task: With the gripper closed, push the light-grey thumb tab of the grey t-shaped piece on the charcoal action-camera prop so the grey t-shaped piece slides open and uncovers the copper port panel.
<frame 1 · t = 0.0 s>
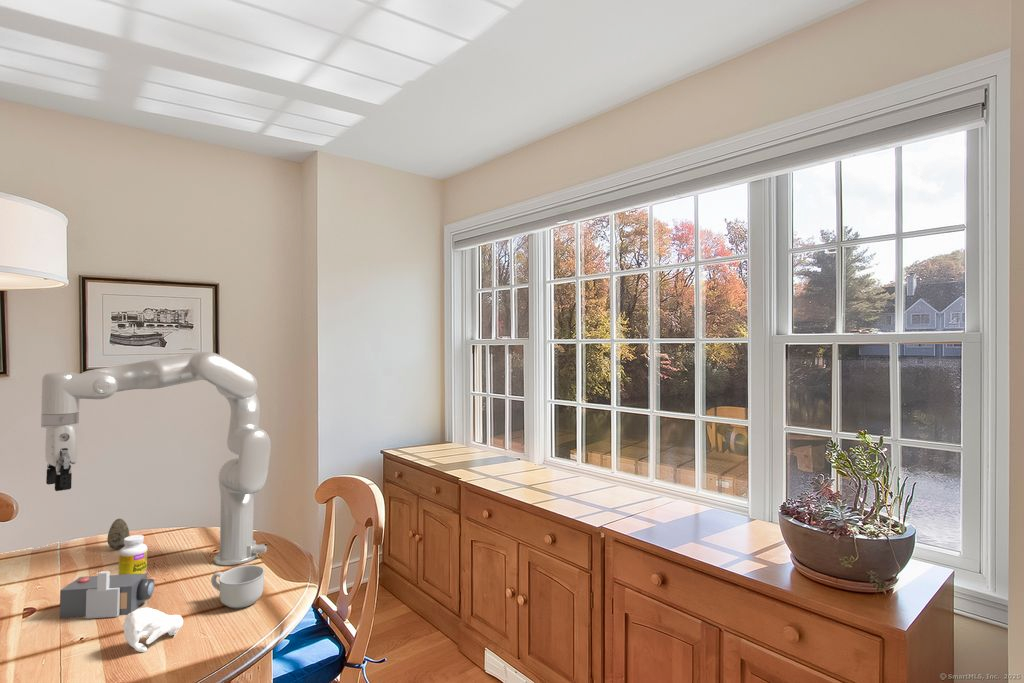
hand: (58, 486, 140), 31 cm above the table, tool pointing down, fingers open, 9 cm apart
white figurine: (154, 643, 124), on the table
grey t-shaped piece: (103, 594, 135), point 6 cm above the table, slide at 0.0 cm
teacup: (236, 603, 144), on the table
camera body: (104, 608, 139), on the table
supplement bottle: (132, 583, 155), on the table
decorative egg: (118, 549, 180), on the table
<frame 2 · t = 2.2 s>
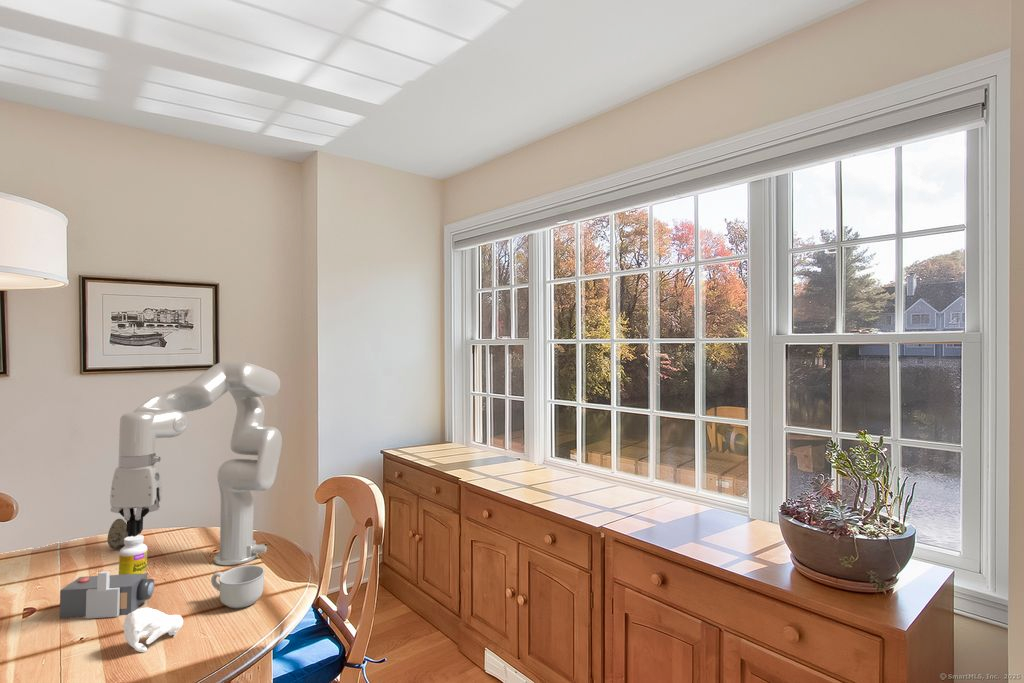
hand: (134, 534, 136), 20 cm above the table, tool pointing down, fingers closed
nothing on the table moved.
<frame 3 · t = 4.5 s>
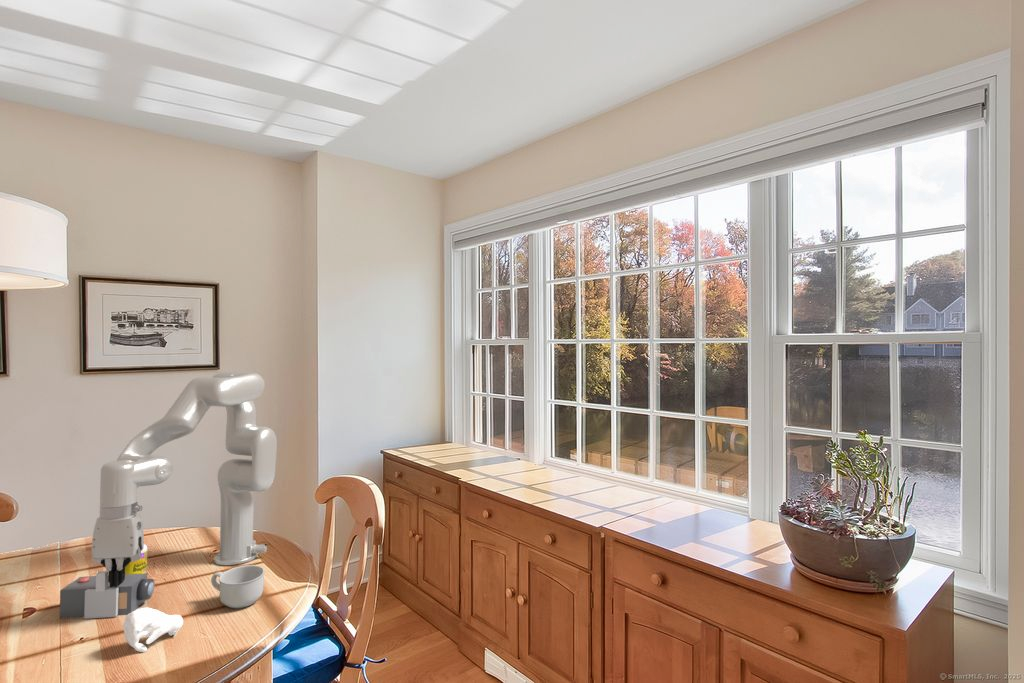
hand: (116, 584, 135), 8 cm above the table, tool pointing down, fingers closed
grey t-shaped piece: (101, 594, 135), point 6 cm above the table, slide at 0.3 cm, touching gripper
everything else where it was.
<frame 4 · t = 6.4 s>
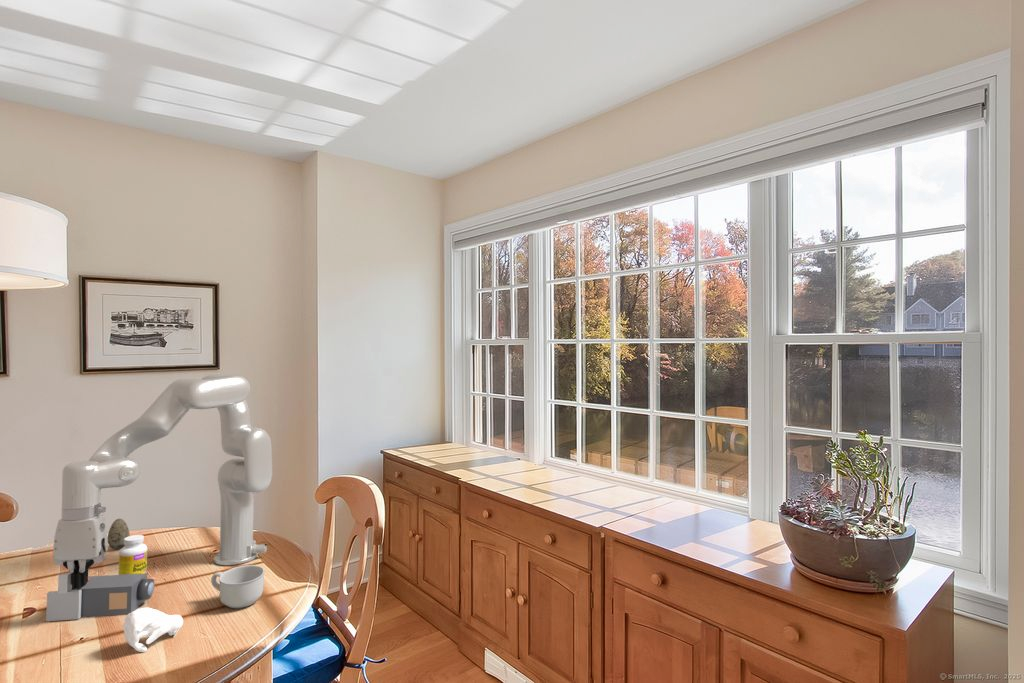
hand: (79, 586, 134), 8 cm above the table, tool pointing down, fingers closed
grey t-shaped piece: (64, 596, 133), point 6 cm above the table, slide at 8.6 cm, touching gripper
everything else where it was.
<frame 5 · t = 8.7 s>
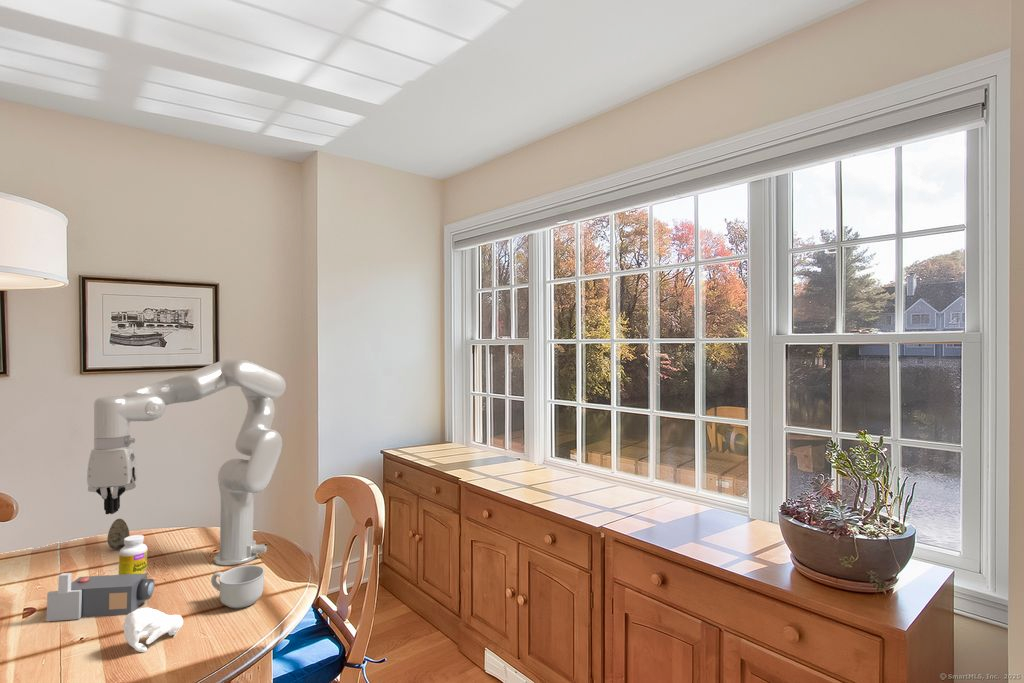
hand: (112, 512, 143), 24 cm above the table, tool pointing down, fingers closed
grey t-shaped piece: (64, 596, 133), point 6 cm above the table, slide at 8.5 cm
everything else where it was.
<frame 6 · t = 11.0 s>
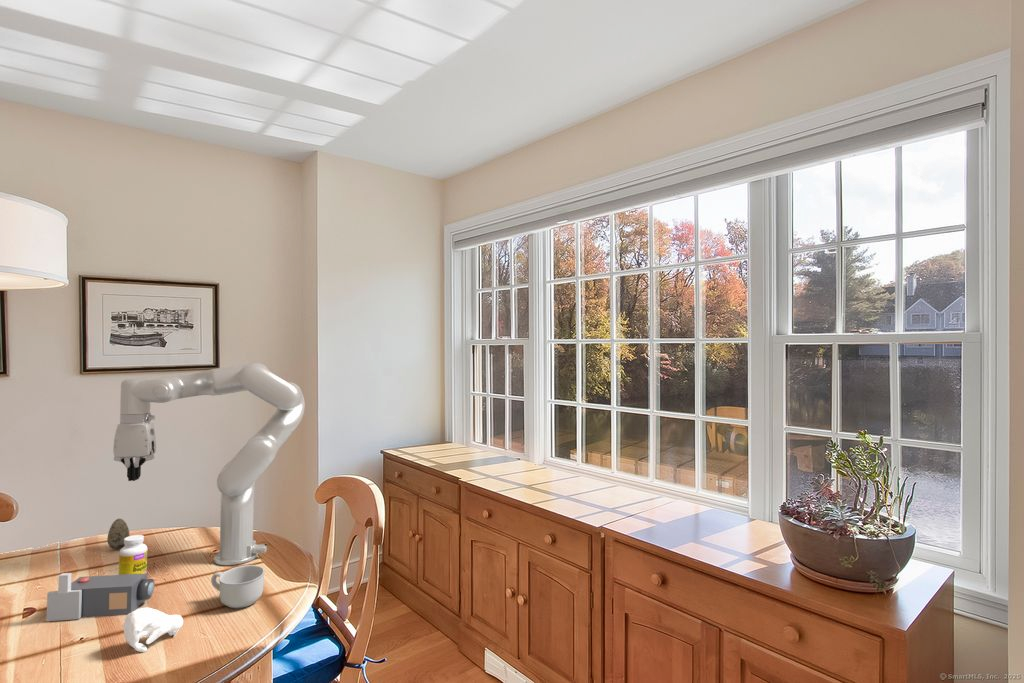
hand: (133, 479, 164), 27 cm above the table, tool pointing down, fingers closed
nothing on the table moved.
at the end: grey t-shaped piece slide at 8.5 cm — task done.
